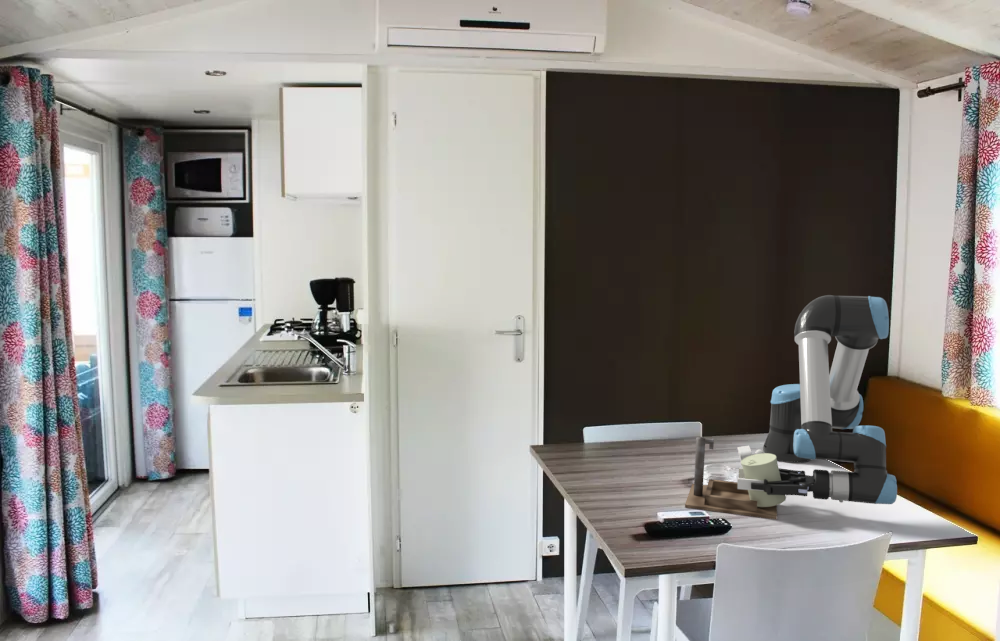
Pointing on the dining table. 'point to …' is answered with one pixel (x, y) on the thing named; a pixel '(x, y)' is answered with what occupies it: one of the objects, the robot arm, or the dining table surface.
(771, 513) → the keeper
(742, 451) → the wall hook
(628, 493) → the dining table surface
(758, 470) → the can
